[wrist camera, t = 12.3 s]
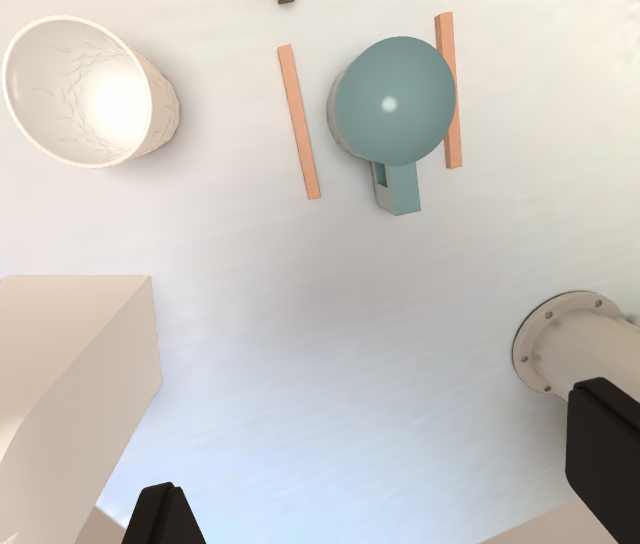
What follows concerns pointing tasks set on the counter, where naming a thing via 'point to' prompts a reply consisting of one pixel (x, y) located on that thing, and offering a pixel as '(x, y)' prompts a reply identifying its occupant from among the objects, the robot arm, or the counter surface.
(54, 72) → the white cup
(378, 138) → the jug
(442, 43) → the strips
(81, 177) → the counter surface
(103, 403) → the milk
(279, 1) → the brown wooden frame
